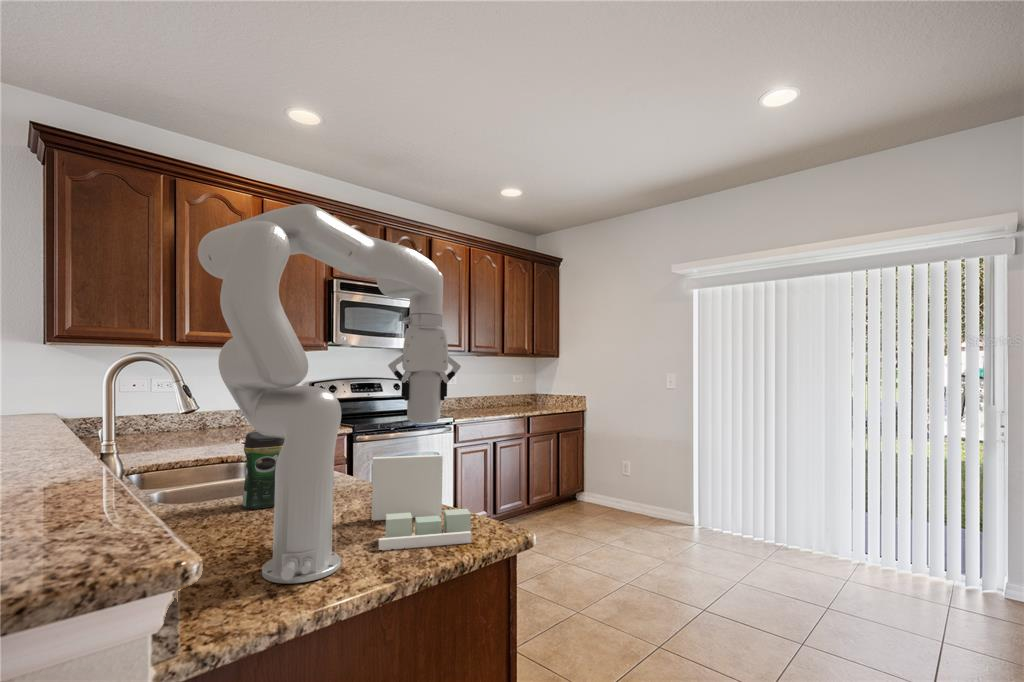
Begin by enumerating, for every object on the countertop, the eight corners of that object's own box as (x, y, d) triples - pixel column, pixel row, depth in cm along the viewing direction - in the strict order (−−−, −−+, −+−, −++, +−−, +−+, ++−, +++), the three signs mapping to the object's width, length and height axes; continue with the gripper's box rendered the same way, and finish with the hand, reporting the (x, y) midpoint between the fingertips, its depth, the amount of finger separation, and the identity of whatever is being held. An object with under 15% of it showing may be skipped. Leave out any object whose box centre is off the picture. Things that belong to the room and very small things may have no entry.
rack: (471, 542, 103) (472, 472, 104) (373, 551, 98) (375, 477, 99) (452, 512, 124) (453, 454, 125) (371, 518, 119) (373, 457, 120)
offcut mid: (441, 540, 105) (441, 521, 105) (416, 542, 103) (417, 522, 103) (438, 534, 108) (439, 515, 109) (414, 536, 107) (415, 517, 107)
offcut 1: (411, 543, 103) (412, 517, 103) (386, 545, 101) (386, 519, 102) (410, 536, 107) (410, 512, 107) (385, 538, 105) (385, 514, 106)
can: (403, 423, 114) (404, 368, 114) (411, 419, 121) (412, 368, 122) (436, 423, 113) (438, 369, 114) (442, 420, 121) (443, 369, 122)
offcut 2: (470, 538, 106) (470, 513, 106) (446, 540, 105) (446, 515, 105) (466, 532, 110) (467, 508, 110) (443, 534, 109) (443, 510, 109)
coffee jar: (282, 499, 135) (284, 428, 136) (286, 506, 128) (288, 431, 129) (241, 503, 130) (243, 430, 131) (242, 511, 123) (244, 433, 124)
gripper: (387, 320, 113) (385, 401, 112) (466, 323, 117) (464, 401, 116) (386, 323, 120) (384, 399, 119) (460, 326, 125) (458, 399, 124)
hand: (424, 399), depth 118 cm, fingers closed on can, 7 cm apart
